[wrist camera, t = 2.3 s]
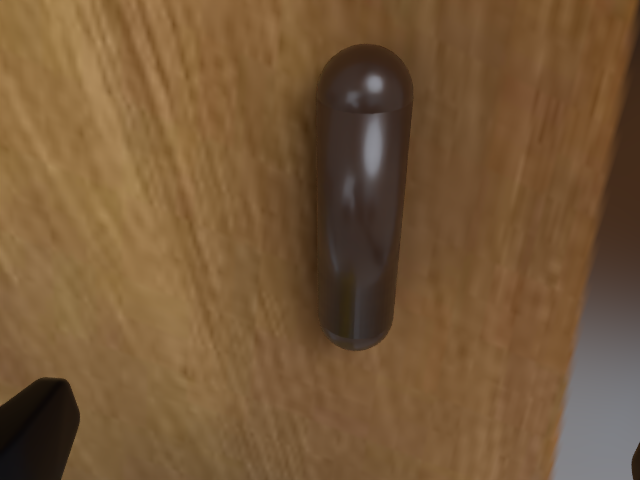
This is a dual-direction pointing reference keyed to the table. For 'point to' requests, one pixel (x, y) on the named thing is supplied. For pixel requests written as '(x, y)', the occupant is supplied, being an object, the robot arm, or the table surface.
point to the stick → (360, 191)
